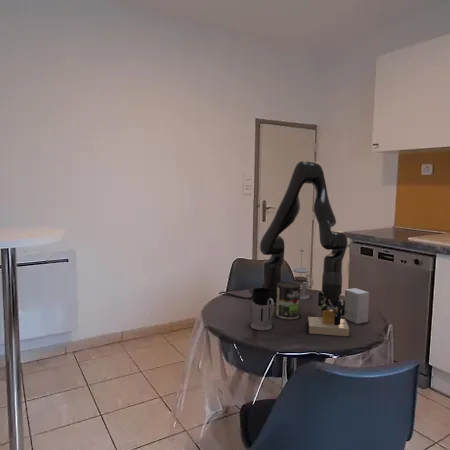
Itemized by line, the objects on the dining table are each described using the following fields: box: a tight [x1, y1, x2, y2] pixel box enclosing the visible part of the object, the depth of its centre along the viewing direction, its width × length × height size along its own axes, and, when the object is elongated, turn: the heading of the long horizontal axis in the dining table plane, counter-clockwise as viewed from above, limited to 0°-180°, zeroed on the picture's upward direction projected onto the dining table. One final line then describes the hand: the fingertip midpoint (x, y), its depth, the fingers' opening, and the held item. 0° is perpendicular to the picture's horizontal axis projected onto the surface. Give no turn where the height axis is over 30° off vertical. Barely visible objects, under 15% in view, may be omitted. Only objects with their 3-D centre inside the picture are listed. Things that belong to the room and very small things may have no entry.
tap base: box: [307, 316, 350, 337], centre depth 152 cm, size 15×11×3 cm
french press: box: [292, 248, 314, 300], centre depth 198 cm, size 10×12×25 cm
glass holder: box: [250, 287, 275, 331], centre depth 152 cm, size 9×14×15 cm, turn 20°
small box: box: [343, 287, 370, 325], centre depth 163 cm, size 8×6×13 cm
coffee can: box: [275, 281, 301, 320], centre depth 168 cm, size 10×10×14 cm
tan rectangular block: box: [321, 309, 338, 324], centre depth 151 cm, size 7×2×5 cm, turn 110°
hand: (330, 321), depth 152 cm, fingers open, 8 cm apart
